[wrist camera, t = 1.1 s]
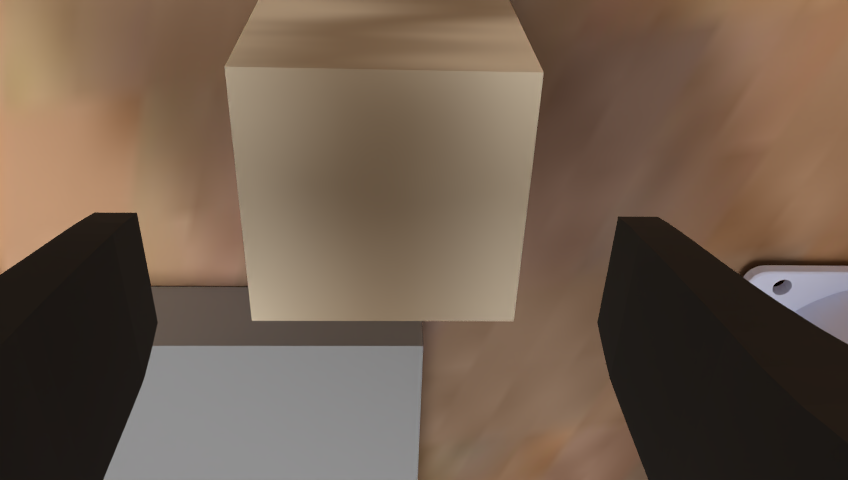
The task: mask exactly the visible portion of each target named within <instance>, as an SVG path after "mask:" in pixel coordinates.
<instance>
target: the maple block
mask: <svg viewBox="0 0 848 480" xmlns="http://www.w3.org/2000/svg"><path fill="white" fill-rule="evenodd" d="M224 67H225V77H226V86H227V95H228V104H229V114H230V123H231V132H232V141H233V151H234V160H235V169H236V178H237V188H238V197H239V206H240V216H241V225H242V234H243V243H244V253H245V262H246V271H247V280H248V290H249V299H250V308H251V318H252V321H514V315H515V306H516V298H517V290H518V282H519V273H520V265H521V257H522V249H523V240H524V232H525V224H526V215H527V207H528V199H529V191H530V182H531V174H532V166H533V158H534V149H535V141H536V133H537V125H538V116H539V108H540V100H541V92H542V83H543V75H544V72H543V70H542V68H541V66H540V63H539V61H538V59H537V57H536V55H535V53H534V51H533V49H532V47H531V45H530V43H529V40H528V38H527V36H526V34H525V32H524V30H523V28H522V26H521V24H520V22H519V19H518V17H517V15H516V13H515V11H514V9H513V7H512V5H511V3H510V1H509V0H258V2H257V4H256V6H255V8H254V10H253V11H252V13H251V15H250V17H249V19H248V21H247V23H246V25H245V27H244V29H243V31H242V33H241V35H240V37H239V39H238V41H237V43H236V45H235V47H234V49H233V51H232V53H231V55H230V57H229V59H228V61H227V63H226V65H225V66H224Z"/></svg>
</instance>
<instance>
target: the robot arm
mask: <svg viewBox="0 0 848 480" xmlns="http://www.w3.org/2000/svg"><path fill="white" fill-rule="evenodd" d="M780 280H785V281H784V282H783V283H782V284H781V285H779V286H775V287H773V286H774V285H775V283H777V282H778V281H780ZM157 324H158V321H157V315H156V310H155V305H154V300H153V295H152V289H151V284H150V279H149V274H148V269H147V263H146V258H145V253H144V248H143V243H142V237H141V232H140V227H139V222H138V217H137V213H93V214H92V215H90V216H88V217H86V218H84V219H83V220H81V221H79V222H78V223H76V224H75V225H73V226H72V227H70V228H69V229H67V230H66V231H64V232H63V233H61V234H60V235H58V236H57V237H55V238H54V239H52V240H51V241H49V242H48V243H47V244H45V245H44V246H42V247H41V248H39V249H38V250H36V251H35V252H33V253H32V254H30V255H29V256H27V257H26V258H25V259H23V260H22V261H20V262H19V263H17V264H16V265H14V266H13V267H11V268H10V269H8V270H7V271H5V272H4V273H2V274H1V275H0V480H103V479H104V477H105V474H106V472H107V469H108V467H109V465H110V462H111V460H112V457H113V455H114V453H115V450H116V448H117V445H118V443H119V440H120V438H121V436H122V433H123V431H124V428H125V426H126V423H127V421H128V418H129V416H130V413H131V411H132V409H133V406H134V404H135V401H136V399H137V396H138V394H139V391H140V388H141V386H142V383H143V381H144V377H145V374H146V370H147V366H148V362H149V358H150V354H151V350H152V346H153V342H154V337H155V333H156V329H157ZM598 327H599V332H600V337H601V342H602V346H603V351H604V355H605V360H606V364H607V368H608V372H609V376H610V380H611V382H612V385H613V388H614V391H615V393H616V396H617V399H618V401H619V404H620V407H621V409H622V412H623V415H624V417H625V420H626V423H627V425H628V428H629V430H630V433H631V436H632V438H633V441H634V443H635V446H636V448H637V451H638V454H639V456H640V459H641V461H642V464H643V467H644V469H645V472H646V474H647V477H648V480H848V266H798V265H763V266H757V267H755V268H753V269H751V270H749V271H748V272H747V273H746V274H745V275H744V277H742V276H740V275H739V274H738V273H736V272H735V271H733V270H732V269H731V268H729V267H728V266H727V265H725V264H724V263H722V262H721V261H720V260H718V259H717V258H716V257H714V256H713V255H712V254H710V253H709V252H708V251H706V250H705V249H703V248H702V247H701V246H699V245H698V244H697V243H695V242H694V241H693V240H691V239H690V238H689V237H687V236H686V235H684V234H683V233H682V232H680V231H679V230H677V229H676V228H674V227H673V226H672V225H670V224H669V223H667V222H665V221H664V220H662V219H660V218H659V217H618V221H617V226H616V231H615V236H614V241H613V246H612V251H611V257H610V262H609V267H608V272H607V277H606V282H605V287H604V292H603V297H602V303H601V308H600V313H599V318H598Z"/></svg>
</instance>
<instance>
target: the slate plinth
mask: <svg viewBox="0 0 848 480" xmlns="http://www.w3.org/2000/svg"><path fill="white" fill-rule="evenodd" d="M151 289H152V295H153V300H154V305H155V310H156V315H157V321H158V324H157V329H156V333H155V337H154V342H153V346H152V350H151V354H150V358H149V362H148V366H147V370H146V374H145V377H144V381H143V383H142V386H141V388H140V391H139V394H138V396H137V399H136V401H135V404H134V406H133V409H132V411H131V413H130V416H129V418H128V421H127V423H126V426H125V428H124V431H123V433H122V436H121V438H120V440H119V443H118V445H117V448H116V450H115V453H114V455H113V457H112V460H111V462H110V465H109V467H108V469H107V472H106V474H105V477H104V479H103V480H418V456H419V433H420V409H421V386H422V363H423V334H422V321H252V318H251V308H250V299H249V290H248V287H151Z"/></svg>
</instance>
